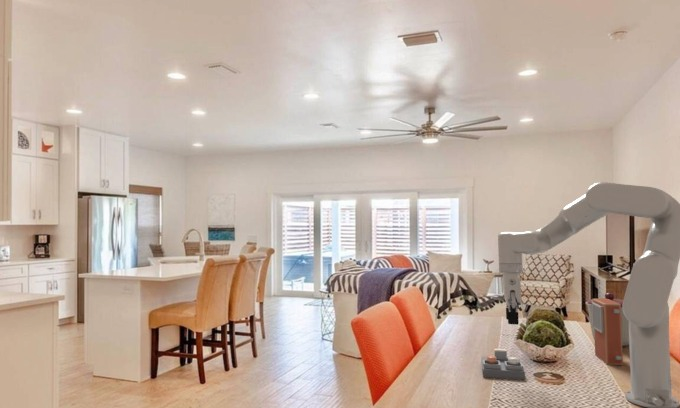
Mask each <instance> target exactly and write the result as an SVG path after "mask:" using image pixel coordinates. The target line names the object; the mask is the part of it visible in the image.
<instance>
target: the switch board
mask: <svg viewBox="0 0 680 408" xmlns="http://www.w3.org/2000/svg"><path fill="white" fill-rule="evenodd" d="M491 356H495V354H492V355H491ZM509 357H510V356H509V355H507V360H501V359H496V360H497V362H496V363H489V362H487V356H481V369H482V370H481V371H482V377H484V378H495V379H496V378H497V379H511V380H523V381H524V380H525V379H526V374H525V373H526V371H525V370H524V365H523V363H522V361H521V359H520V358H518V359H519V364H510V363H508V358H509Z"/></svg>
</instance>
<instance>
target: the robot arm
mask: <svg viewBox="0 0 680 408" xmlns="http://www.w3.org/2000/svg"><path fill="white" fill-rule="evenodd" d="M609 214H615V215H624V216H629V217H638V218H645V219H649V221H650V226H649V231H648V232H647V237H646V241H645V246H644V248H643V252H642V254H641V256H639V257H638V258H637V259H636V260H635V262H634V263H633V266H632V268H631V271H630V275H629V277H628V278H629V279H628V283H627V286H626V289H625V293H624V297H623V299H622V300H623V305H622V308H623V313H624V315H625V317H626V318H627V320H628V321H629V344H628V345H629V349H628V350H629V365H630V367H629V370H630V389H629V390H626V391H625V394H624V395H625V399H626V400H627V401H629V402H630V403H632V404H635V405H638V406H640V407H645V408H679V407H680V402H679V400H678V399H677V398H676V397H675V396H672V394H673V393H672V380H671V379H672V378H671V377H672V375H671V353H670V352H671V351H670V344H671V343H670V309H669V308H670V307H669V303H668V302H669V297H670V295H671V292H672V288H673V283H674V282H675V279H676V277H678V276H677V275H678V268H679V263H680V202H679V201H678V200H676V198H674V197H673V196H672V195H671V194H669V193H667V192H666V191H664V190H662V189H660V188H657V187H653V186H645V185H636V184H635V185H634V184H625V183H623V184H622V183H615V182H608V181H600V182H595V183H594V184H592V185H590V186H589V187H588V189H587V190H586V192H585V194H583V195H582V196H580V197H579V198H577V199H575V200H574V201H572V202H570V203H569V204H567V205H566V206H564V207H563V208H562V209H561V210H560V211H559V212H558V215H557V216H556V217H555V218H553V220H551V221H550V222H548V223H547V224H545V225H544V226H542V227H540V228H539V229H537V230H530V231H524V232H517V231H503V232H499V233H498V235H497V237H498V238H497V242H498V243H497V245H498V246H497V247H498V249H497V251H498V273H499V274H502V286H503V287H502V288H503V290H502V291H503V296H504V301H505V303H506V304H505V305H506V307H505V318H506V320H507V324H508V325H519V310H518V308H519V307H518V304H520V305H521V304H522V284H521V275H520V274H523V272H524V270H523V266H524V265H523V255H530V256H531V255H538V254H542V253H545V252H546V253H547V252H548V251H549V250H551V249H553V248H554V247H556V246H558V245H559V244H561V243H563V242H564V241H566V240H568V239H569V238H571V237H572V236H574V235H576V234H578V233H579V232H580V231H582V230H584V229H585V228H587V227H589V226H590V225H593V223H595V222H597V221H600V220H601V219H603V218H604V217H606V216H608V215H609Z"/></svg>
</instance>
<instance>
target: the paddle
mask: <svg viewBox="0 0 680 408" xmlns="http://www.w3.org/2000/svg"><path fill="white" fill-rule="evenodd" d="M493 349H494V356H495V357H496V359H501V360H507V356H508V354H507V351H508V350H507V348H493Z"/></svg>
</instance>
